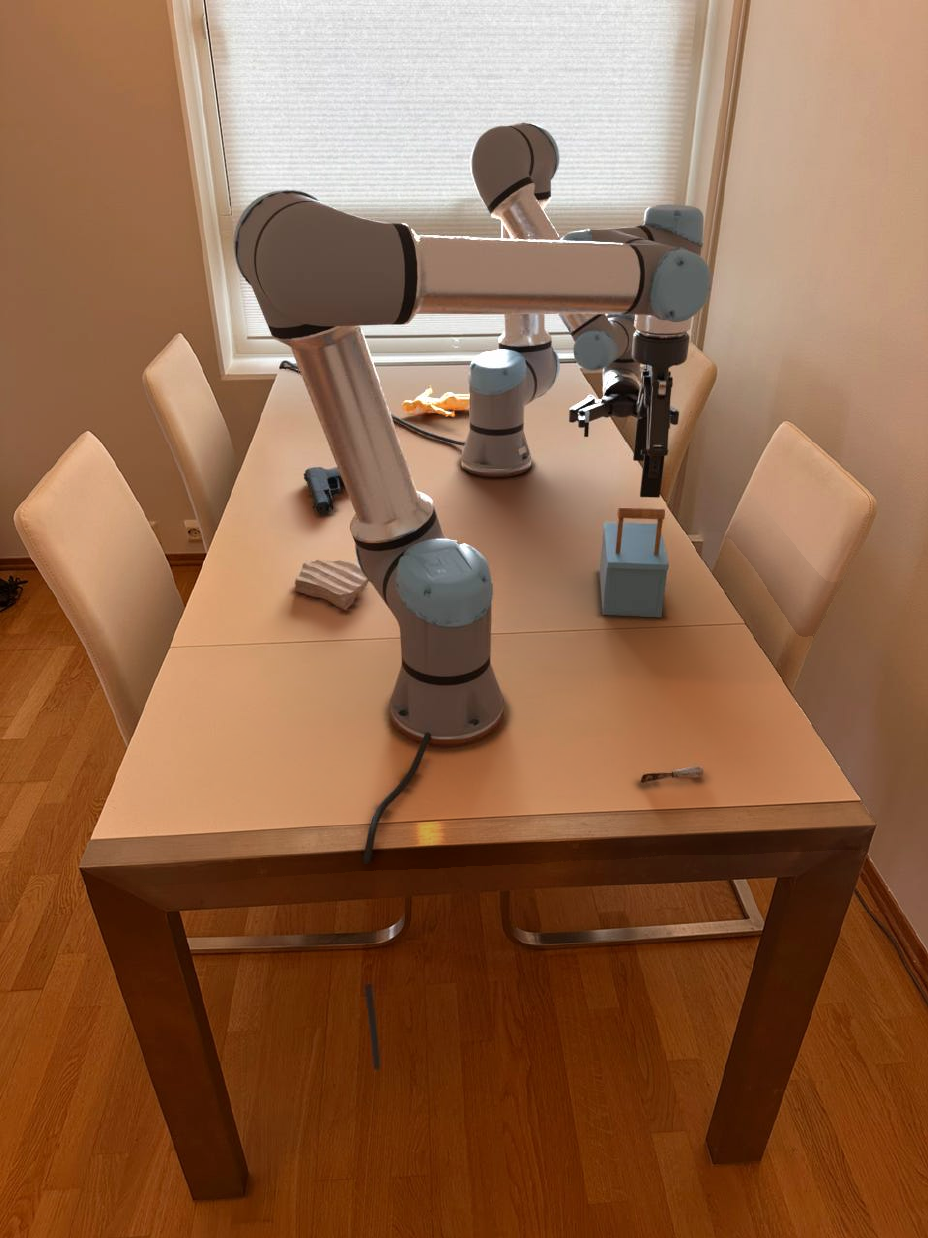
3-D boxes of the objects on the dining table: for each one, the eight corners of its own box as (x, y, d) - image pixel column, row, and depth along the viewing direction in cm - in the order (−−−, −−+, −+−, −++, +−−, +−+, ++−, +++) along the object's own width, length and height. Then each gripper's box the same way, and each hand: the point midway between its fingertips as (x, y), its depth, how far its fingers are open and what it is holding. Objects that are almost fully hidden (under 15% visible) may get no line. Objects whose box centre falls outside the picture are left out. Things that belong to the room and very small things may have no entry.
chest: (661, 617, 141) (667, 568, 137) (602, 614, 142) (607, 566, 137) (653, 575, 153) (659, 529, 148) (599, 573, 154) (603, 527, 149)
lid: (668, 570, 136) (675, 518, 131) (607, 568, 137) (611, 516, 132) (659, 528, 148) (665, 480, 143) (603, 527, 149) (607, 478, 144)
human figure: (395, 413, 223) (394, 398, 221) (438, 390, 237) (438, 375, 235) (462, 429, 215) (462, 413, 213) (502, 404, 229) (503, 388, 227)
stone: (382, 577, 152) (381, 564, 151) (347, 611, 143) (346, 598, 142) (316, 564, 157) (314, 551, 155) (279, 596, 147) (277, 583, 146)
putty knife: (703, 777, 109) (705, 767, 109) (642, 788, 108) (644, 777, 107) (700, 772, 110) (702, 762, 109) (639, 782, 109) (640, 771, 108)
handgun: (374, 509, 176) (313, 517, 173) (359, 474, 190) (302, 481, 188) (373, 494, 174) (311, 502, 172) (358, 460, 188) (301, 466, 186)
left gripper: (702, 357, 110) (681, 514, 121) (679, 309, 131) (663, 447, 142) (641, 356, 110) (625, 512, 122) (628, 308, 131) (615, 445, 143)
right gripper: (683, 413, 179) (693, 452, 161) (558, 411, 182) (554, 448, 164) (687, 376, 175) (698, 411, 157) (559, 374, 178) (555, 408, 160)
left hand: (645, 477), depth 132 cm, fingers open, 13 cm apart
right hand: (624, 430), depth 160 cm, fingers open, 13 cm apart
